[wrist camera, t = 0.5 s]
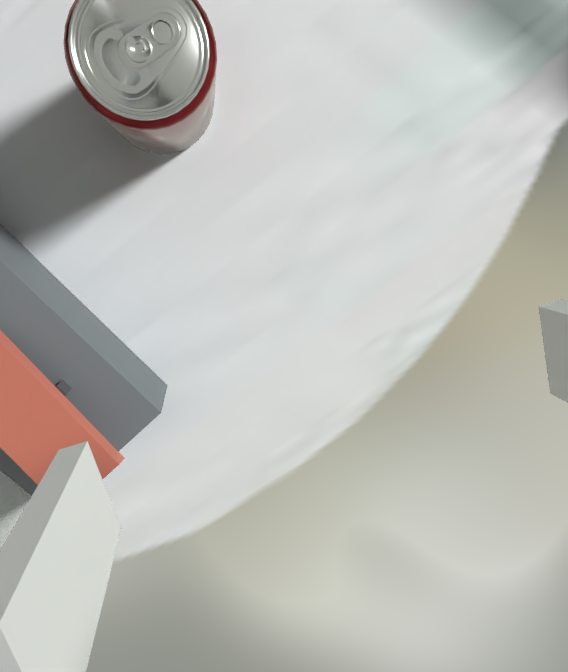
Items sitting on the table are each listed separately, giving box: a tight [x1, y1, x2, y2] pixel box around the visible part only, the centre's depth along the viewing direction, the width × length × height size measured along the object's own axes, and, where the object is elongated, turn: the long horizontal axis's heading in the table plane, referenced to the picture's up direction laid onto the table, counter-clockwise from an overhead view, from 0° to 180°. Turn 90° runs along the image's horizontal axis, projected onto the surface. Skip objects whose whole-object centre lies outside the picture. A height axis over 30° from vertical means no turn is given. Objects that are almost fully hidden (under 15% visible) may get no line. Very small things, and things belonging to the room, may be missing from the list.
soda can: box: [64, 0, 217, 154], centre depth 32 cm, size 7×7×12 cm
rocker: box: [0, 330, 124, 485], centre depth 32 cm, size 11×4×1 cm, turn 42°
